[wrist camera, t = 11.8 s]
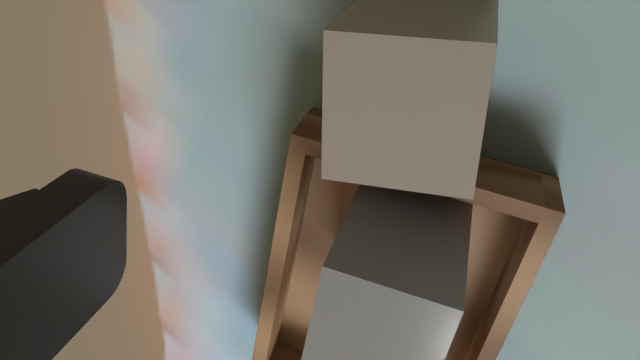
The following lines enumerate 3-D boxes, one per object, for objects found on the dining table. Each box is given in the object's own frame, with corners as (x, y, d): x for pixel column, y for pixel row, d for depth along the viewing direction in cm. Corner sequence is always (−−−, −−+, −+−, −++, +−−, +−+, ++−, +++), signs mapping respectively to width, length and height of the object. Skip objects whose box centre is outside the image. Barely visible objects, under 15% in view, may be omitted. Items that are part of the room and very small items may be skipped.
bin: (312, 107, 21) (291, 133, 19) (558, 177, 20) (565, 213, 18) (268, 339, 27) (248, 378, 25) (455, 404, 26) (451, 451, 24)
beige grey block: (371, -12, 19) (323, 30, 14) (498, -5, 18) (497, 43, 13) (365, 103, 21) (321, 179, 16) (480, 115, 20) (473, 200, 15)
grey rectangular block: (365, 172, 21) (322, 266, 16) (472, 203, 21) (463, 311, 16) (343, 257, 23) (299, 365, 18) (441, 288, 23) (424, 408, 18)
